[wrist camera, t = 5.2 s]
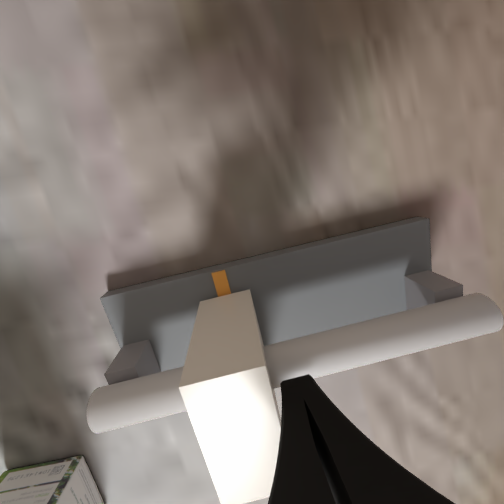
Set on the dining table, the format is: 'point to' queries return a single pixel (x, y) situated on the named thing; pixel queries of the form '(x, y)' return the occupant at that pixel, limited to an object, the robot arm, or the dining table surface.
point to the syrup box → (50, 484)
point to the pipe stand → (290, 316)
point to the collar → (232, 398)
